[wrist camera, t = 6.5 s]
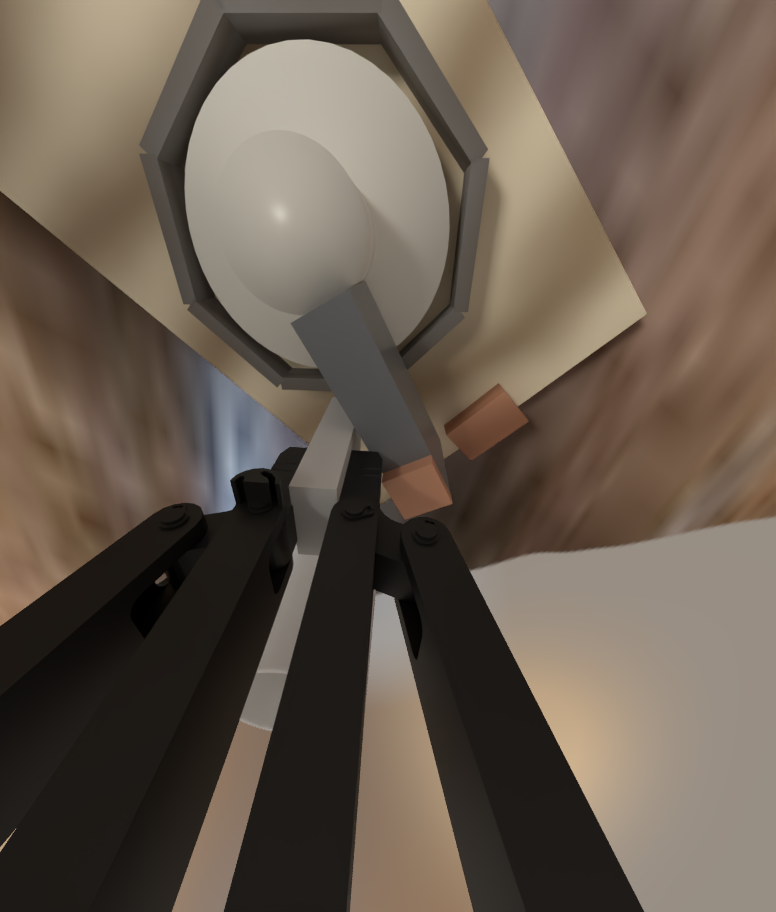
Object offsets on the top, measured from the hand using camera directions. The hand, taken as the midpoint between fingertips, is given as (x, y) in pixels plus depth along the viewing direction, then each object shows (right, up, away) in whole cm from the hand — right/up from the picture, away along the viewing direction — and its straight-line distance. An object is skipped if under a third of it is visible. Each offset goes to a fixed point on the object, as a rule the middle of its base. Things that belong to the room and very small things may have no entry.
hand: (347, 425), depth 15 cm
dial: (0, +6, 0) cm, 6 cm away
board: (-1, +8, 0) cm, 8 cm away
